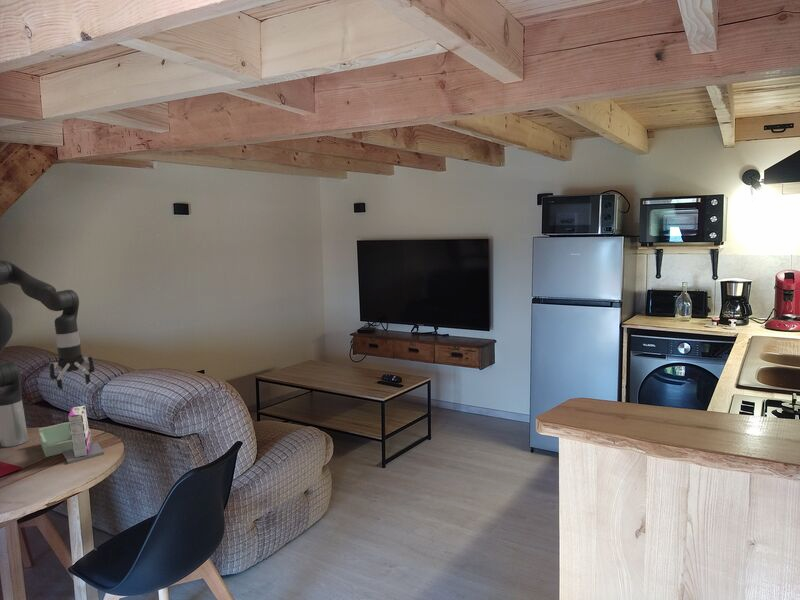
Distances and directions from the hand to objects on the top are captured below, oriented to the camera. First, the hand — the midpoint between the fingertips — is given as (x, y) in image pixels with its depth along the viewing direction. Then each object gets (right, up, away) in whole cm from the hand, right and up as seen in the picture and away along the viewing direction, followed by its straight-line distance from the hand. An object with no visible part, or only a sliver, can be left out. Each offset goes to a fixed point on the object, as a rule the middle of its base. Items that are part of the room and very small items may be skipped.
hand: (74, 386), depth 211 cm
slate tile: (+1, -26, +4) cm, 27 cm away
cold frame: (-11, -26, +13) cm, 31 cm away
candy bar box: (+1, -26, +4) cm, 26 cm away
